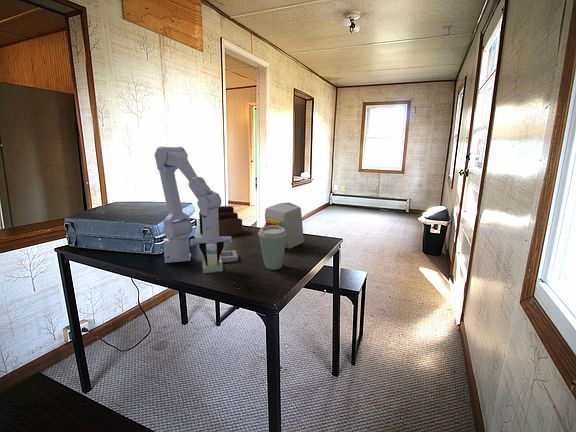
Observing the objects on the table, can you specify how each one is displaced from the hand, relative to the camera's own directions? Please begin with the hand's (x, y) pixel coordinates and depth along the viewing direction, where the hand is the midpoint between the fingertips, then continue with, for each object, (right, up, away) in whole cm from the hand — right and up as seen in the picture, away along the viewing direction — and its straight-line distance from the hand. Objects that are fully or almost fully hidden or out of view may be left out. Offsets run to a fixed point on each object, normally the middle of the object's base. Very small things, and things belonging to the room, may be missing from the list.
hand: (212, 262), depth 110 cm
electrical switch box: (+25, +3, +29) cm, 38 cm away
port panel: (+1, 0, +10) cm, 10 cm away
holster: (0, -2, 0) cm, 2 cm away
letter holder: (-7, +7, +47) cm, 48 cm away
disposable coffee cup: (+22, -2, +3) cm, 23 cm away
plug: (0, -2, +1) cm, 2 cm away
